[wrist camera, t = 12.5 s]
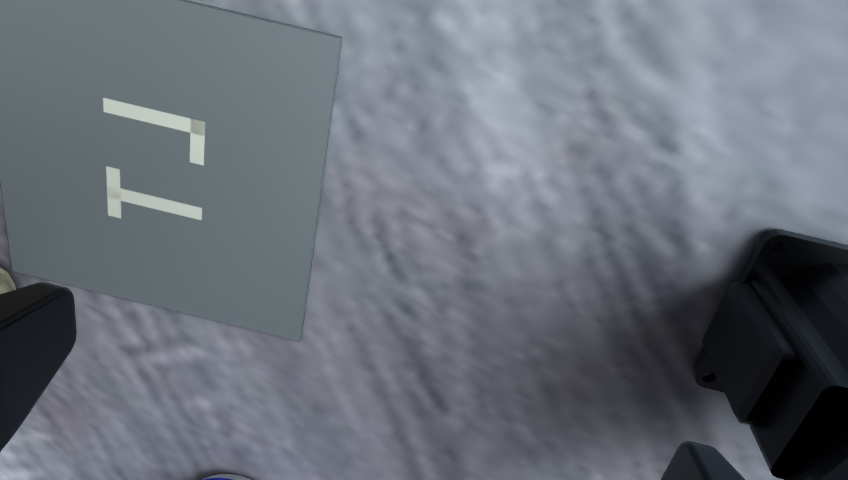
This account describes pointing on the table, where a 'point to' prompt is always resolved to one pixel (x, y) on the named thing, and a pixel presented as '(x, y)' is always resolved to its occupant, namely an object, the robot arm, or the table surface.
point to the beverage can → (226, 477)
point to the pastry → (6, 282)
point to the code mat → (166, 154)
